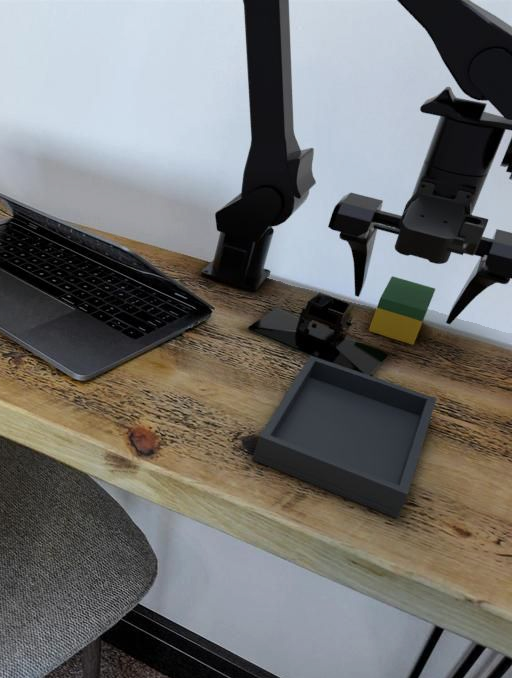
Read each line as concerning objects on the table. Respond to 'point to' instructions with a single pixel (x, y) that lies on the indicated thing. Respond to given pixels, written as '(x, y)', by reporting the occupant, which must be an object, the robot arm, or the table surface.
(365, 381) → the tray
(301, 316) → the black mechanical part
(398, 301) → the sponge
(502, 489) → the table surface
